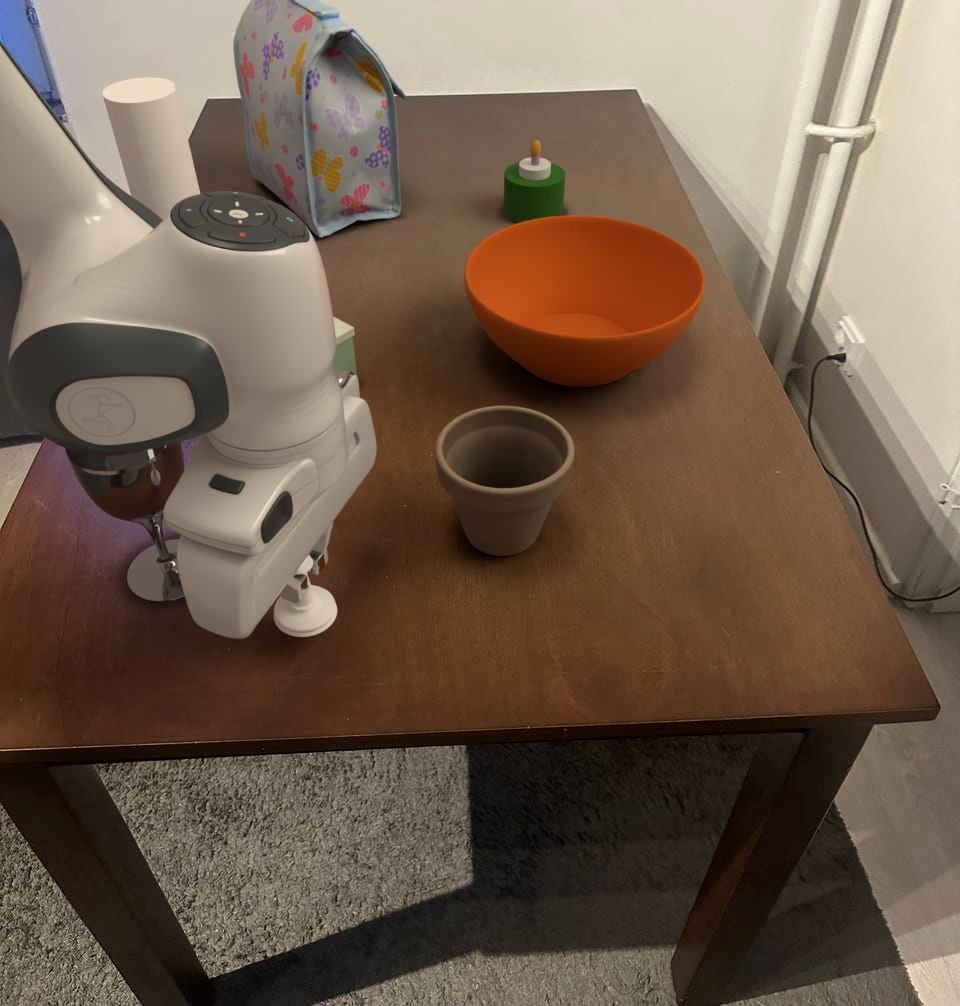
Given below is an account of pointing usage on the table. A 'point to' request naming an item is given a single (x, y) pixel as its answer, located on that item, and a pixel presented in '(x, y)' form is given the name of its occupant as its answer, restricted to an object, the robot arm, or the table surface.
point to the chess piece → (306, 609)
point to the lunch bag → (317, 114)
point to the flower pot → (503, 473)
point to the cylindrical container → (152, 141)
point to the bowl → (583, 295)
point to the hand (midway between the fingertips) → (304, 580)
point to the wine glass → (139, 509)
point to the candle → (533, 188)
